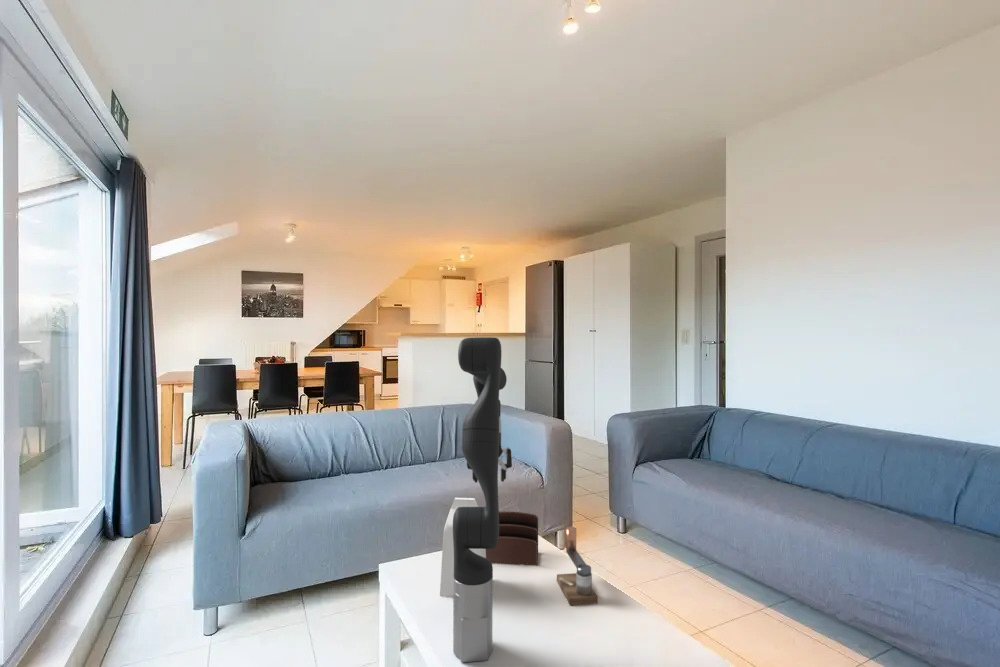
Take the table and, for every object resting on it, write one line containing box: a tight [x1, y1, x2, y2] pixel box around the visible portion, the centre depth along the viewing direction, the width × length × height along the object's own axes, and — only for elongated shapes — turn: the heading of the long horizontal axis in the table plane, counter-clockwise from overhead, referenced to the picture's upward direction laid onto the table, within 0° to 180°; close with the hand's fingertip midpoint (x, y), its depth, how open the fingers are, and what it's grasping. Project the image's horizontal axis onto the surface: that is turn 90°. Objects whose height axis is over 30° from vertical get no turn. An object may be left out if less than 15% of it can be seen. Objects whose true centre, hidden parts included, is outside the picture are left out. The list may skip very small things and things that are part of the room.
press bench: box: [556, 571, 599, 606], centre depth 146 cm, size 14×8×7 cm, turn 8°
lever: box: [565, 526, 592, 576], centre depth 148 cm, size 17×4×8 cm, turn 8°
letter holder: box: [486, 511, 539, 566], centre depth 168 cm, size 10×20×14 cm, turn 84°
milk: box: [439, 497, 486, 598], centre depth 148 cm, size 12×12×26 cm
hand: (489, 481), depth 161 cm, fingers open, 8 cm apart
